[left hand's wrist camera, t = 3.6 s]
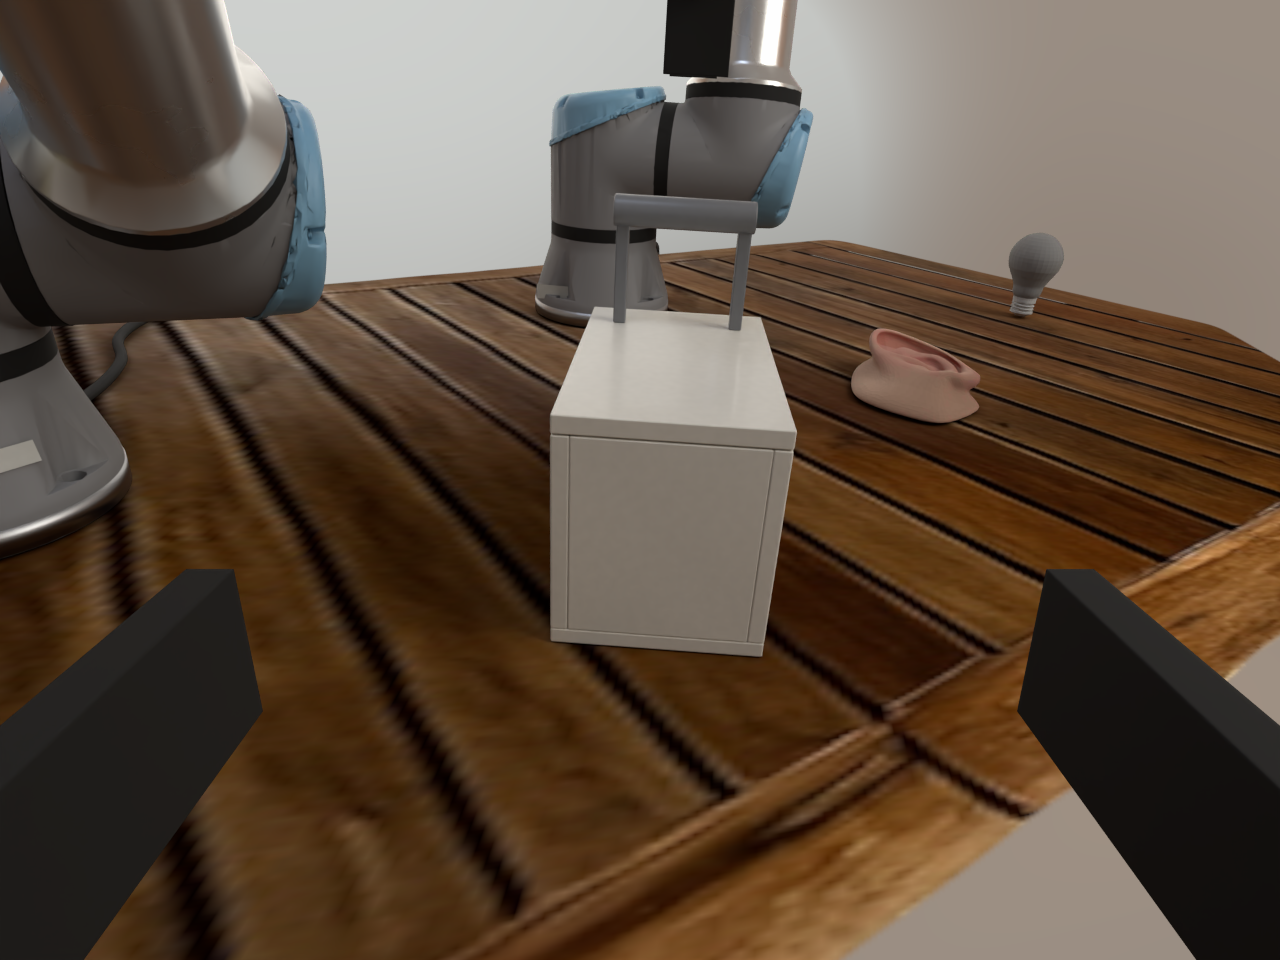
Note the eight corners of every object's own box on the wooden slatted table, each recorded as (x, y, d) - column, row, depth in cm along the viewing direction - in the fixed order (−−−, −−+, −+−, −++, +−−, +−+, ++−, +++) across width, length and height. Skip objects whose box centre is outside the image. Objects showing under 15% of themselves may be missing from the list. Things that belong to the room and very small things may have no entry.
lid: (593, 320, 48) (597, 185, 44) (758, 331, 47) (775, 196, 44) (549, 433, 32) (549, 240, 29) (794, 450, 32) (824, 257, 28)
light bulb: (1001, 319, 96) (1024, 235, 91) (989, 307, 101) (1010, 227, 96) (1052, 323, 95) (1077, 239, 90) (1037, 311, 100) (1060, 231, 96)
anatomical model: (985, 385, 61) (839, 359, 65) (973, 432, 63) (832, 403, 67) (994, 343, 72) (869, 322, 76) (983, 383, 74) (861, 361, 78)
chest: (588, 482, 52) (592, 324, 47) (740, 493, 52) (759, 335, 47) (550, 641, 37) (549, 435, 32) (762, 657, 37) (794, 451, 32)
